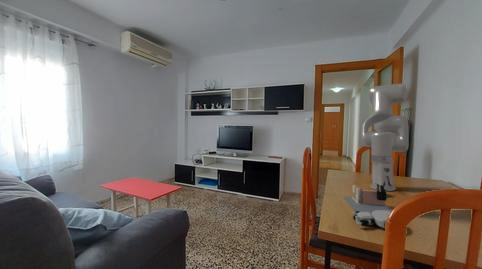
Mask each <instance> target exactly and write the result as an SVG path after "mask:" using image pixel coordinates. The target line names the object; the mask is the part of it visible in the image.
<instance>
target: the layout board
mask: <svg viewBox="0 0 482 269" xmlns="http://www.w3.org/2000/svg"><path fill="white" fill-rule="evenodd" d="M344 198H345V199H344ZM344 198H343V199H344V200H345V202H347V203H348V205H349V204H350V205H349V207H351V208H352V210H354V212H356V211H360V212H370V213H371V214H372V212H373V211H375V210H386V211H388V210H391V211H392V210H393V208H391V207H389V206H388V205H387V204H385V205H380V204H367V203H362V204H359V203H358V202H357V201H356V200H355V199H354V198H353V196H352V197H351V196H350V197H349V196H347V197H346V196H344ZM391 211H390V212H391Z"/></svg>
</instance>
